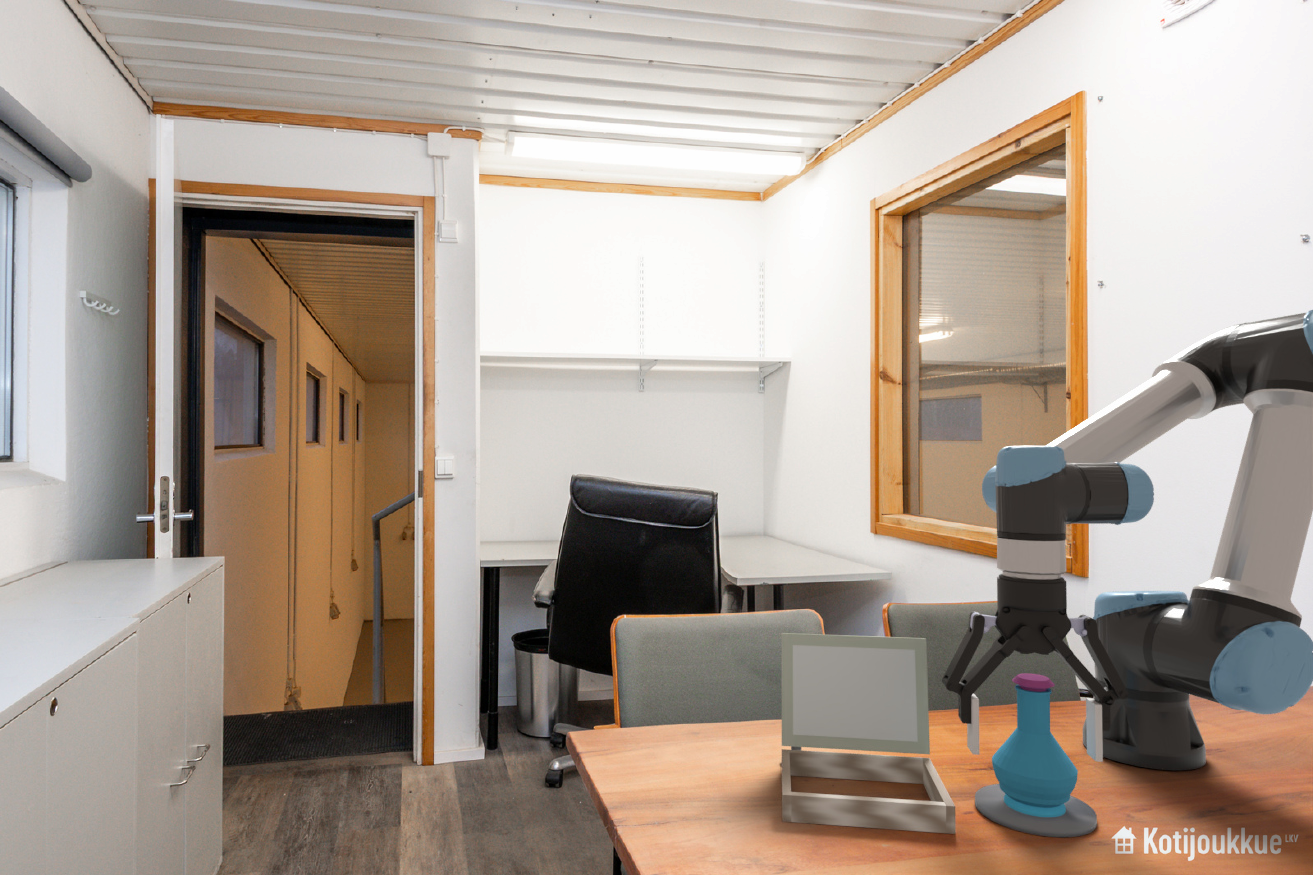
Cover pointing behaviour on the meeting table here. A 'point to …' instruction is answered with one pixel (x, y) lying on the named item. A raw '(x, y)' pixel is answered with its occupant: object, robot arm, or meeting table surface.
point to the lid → (855, 693)
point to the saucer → (1070, 824)
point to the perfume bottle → (1034, 755)
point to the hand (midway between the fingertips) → (1033, 754)
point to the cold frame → (866, 809)
